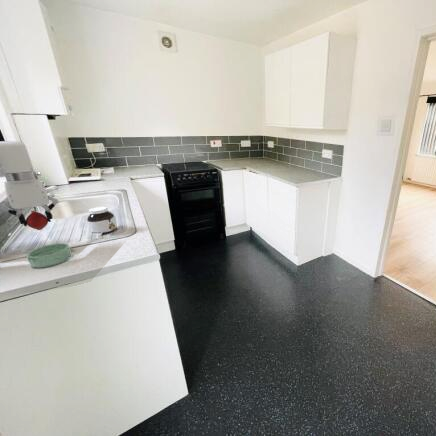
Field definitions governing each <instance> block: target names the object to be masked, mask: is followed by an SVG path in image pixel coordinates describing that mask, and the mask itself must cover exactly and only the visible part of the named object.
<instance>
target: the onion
mask: <svg viewBox="0 0 436 436" xmlns="http://www.w3.org/2000/svg"><path fill="white" fill-rule="evenodd" d="M30 212H31V213H30V214H29V215H27V216H26V218H25V220H26V223H27V227H29V228H32V229H34V230H37V231H42V230H43V229H44V228H46V227H47V226H48V224H49V222H48V220H47V217H46V214H43V213H42V212H41V213H40V212H38V211H35V210H31V211H30Z"/></svg>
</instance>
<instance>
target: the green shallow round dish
mask: <svg viewBox="0 0 436 436" xmlns="http://www.w3.org/2000/svg"><path fill="white" fill-rule="evenodd" d="M71 257H72V250H71V248H70V245H69V244H68V243H64V242H62V243H61V242H60V243H53V244H47V245H44V246H40V247H37V248H35V249H33V250H31V251H29V252H27V254H26V258H27V260H28V262H29V265H30V266H31V267H32V268H40V269H41V268H49V267H53V266H56V265H59V264H61V263H64V262H66V261H67V260H69V259H70V258H71Z"/></svg>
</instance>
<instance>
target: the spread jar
mask: <svg viewBox="0 0 436 436" xmlns="http://www.w3.org/2000/svg"><path fill="white" fill-rule="evenodd" d="M88 212H89V215H88V216H87V218H86V223H87V226H88V229H89V231H90V232H91V233H92V234H93V233H94V234H100V236H103V235H108V234H111V233H114V231H115V230H116V229H117V227H118V226H117V220H116V217H115V214H114V213H112V212H111V211H109V210H108V207H107V206H97V207H92V208H90V209H88Z"/></svg>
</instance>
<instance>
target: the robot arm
mask: <svg viewBox="0 0 436 436" xmlns="http://www.w3.org/2000/svg"><path fill="white" fill-rule="evenodd" d="M0 167H1V170H2V172H3V175H4V177H5V180H6V181H4V182H3V183H4V190H5V193H6V197H7V200H6V201H5V202H4V203H3V205H2V206H1V207H0V210H1V211H3V212H5V213H8V214H11V215H13V216H16V217H17V218H18V221H19V224H20V225H23V227H28V225H27V223H26V217H25V215H24V213H23V209H29V208H36V207H42V208H43V209H44V215H45V216H46V218H47V220H48V223H51V222H52V220H53V216H52V213H51V211H53V209H54V208H55V206H56V205H57V204H58V203H59V201H60V200H59V199H57V198H55V197H53V196H51V195H48V193H47V190H46V188H45V186H44V183H43V182H42V181H41V179H40V178H38V177H41V176H42V175H41V171H40V172H39V171H35V170H34V167H33V163H32V160H31V157H30V154H29V151H28V148H27V146H26V144H25V143H24V142H22V141H18V140H13V141H12V140H1V141H0ZM50 201H51V203H50ZM48 204H49V205H48ZM9 207H11V208H9Z"/></svg>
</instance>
